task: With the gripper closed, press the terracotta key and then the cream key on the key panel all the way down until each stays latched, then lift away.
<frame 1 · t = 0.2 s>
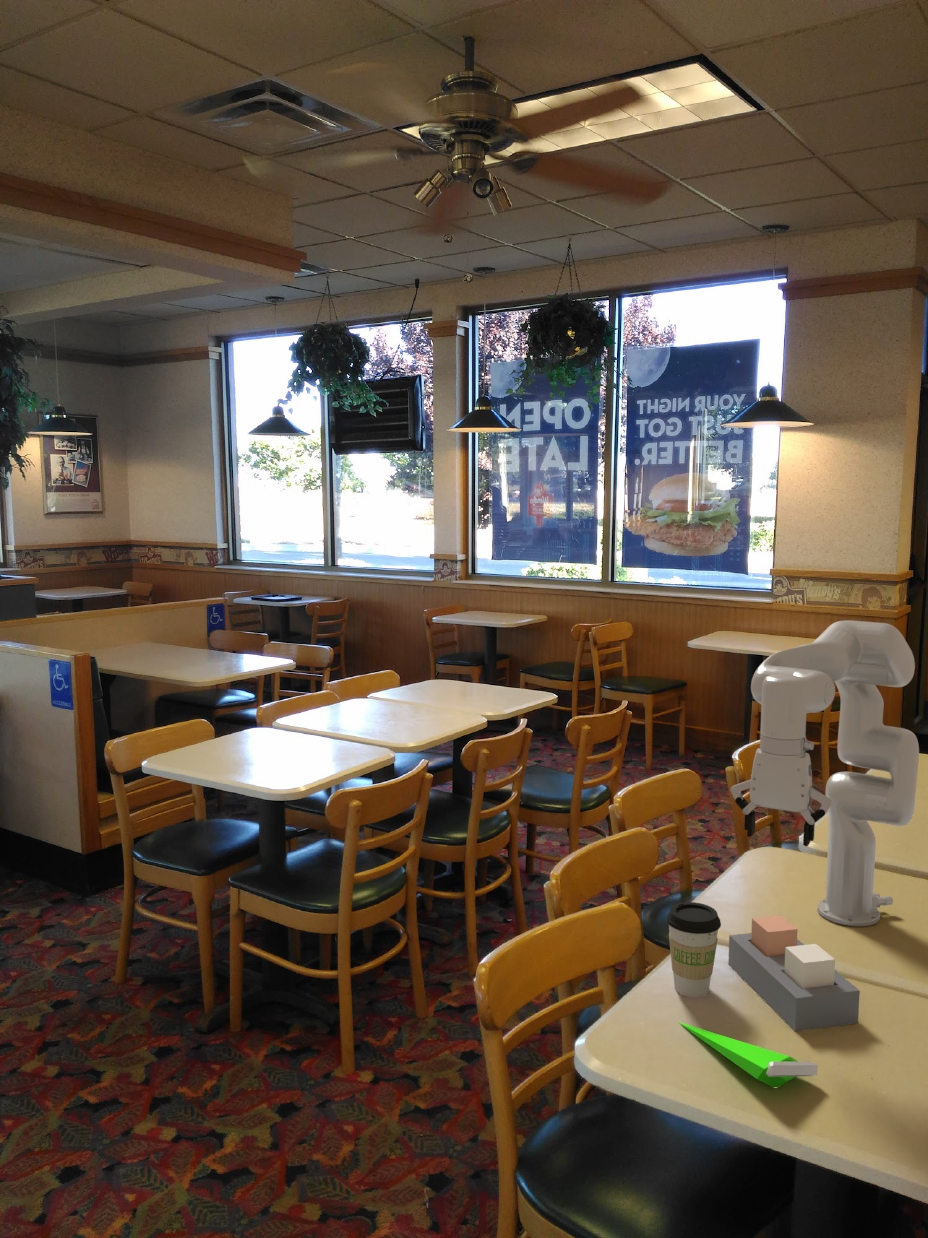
hand: (778, 839, 170), 30 cm above the table, tool pointing down, fingers open, 9 cm apart
terracotta key: (773, 939, 181), point 7 cm above the table, slide at 0.0 cm
green triangular piece: (735, 1066, 154), on the table
coffee cup: (691, 990, 178), on the table
key panel: (789, 992, 176), on the table
cream key: (809, 969, 169), point 7 cm above the table, slide at 0.0 cm
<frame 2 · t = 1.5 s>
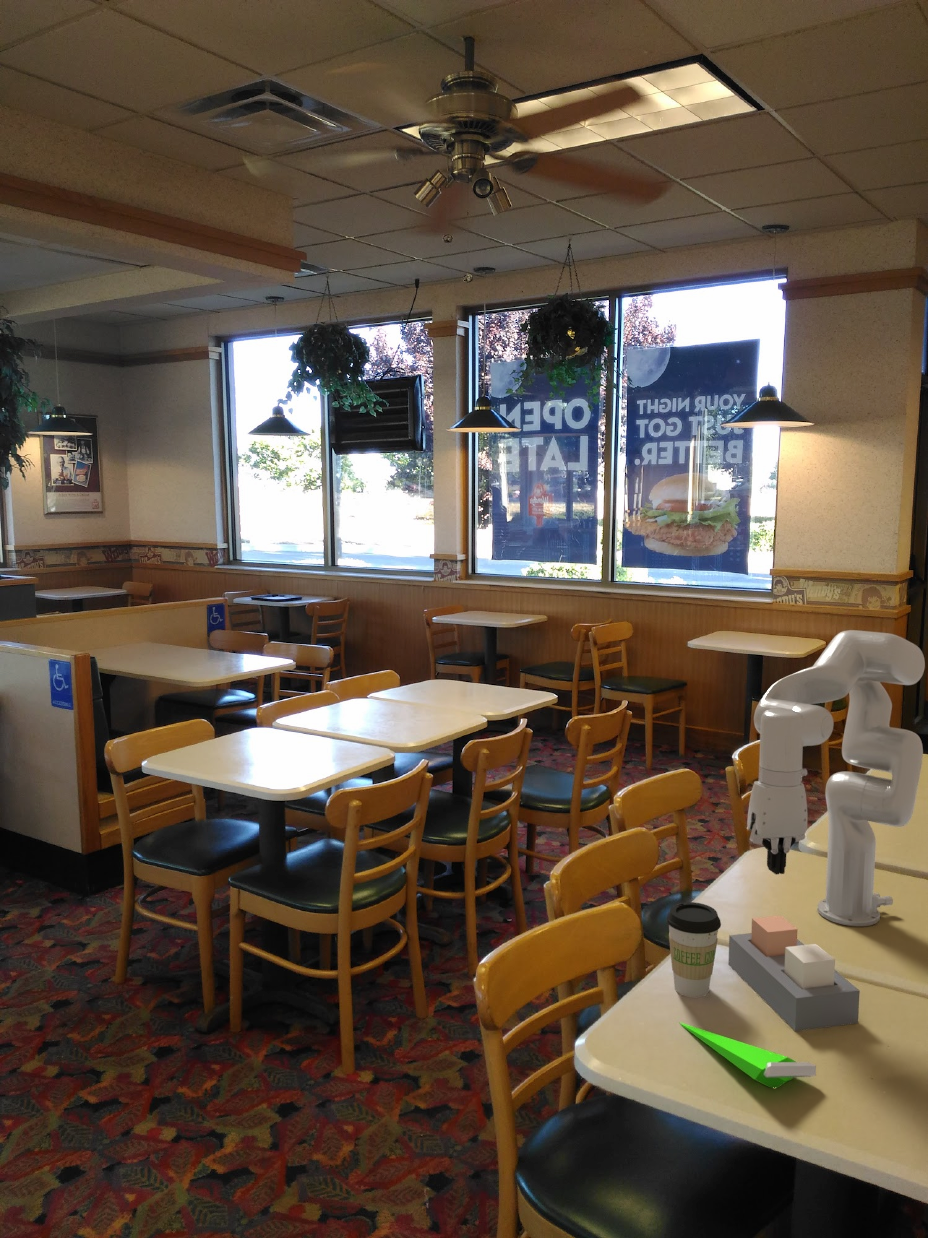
hand: (776, 871, 179), 21 cm above the table, tool pointing down, fingers closed
nothing on the table moved.
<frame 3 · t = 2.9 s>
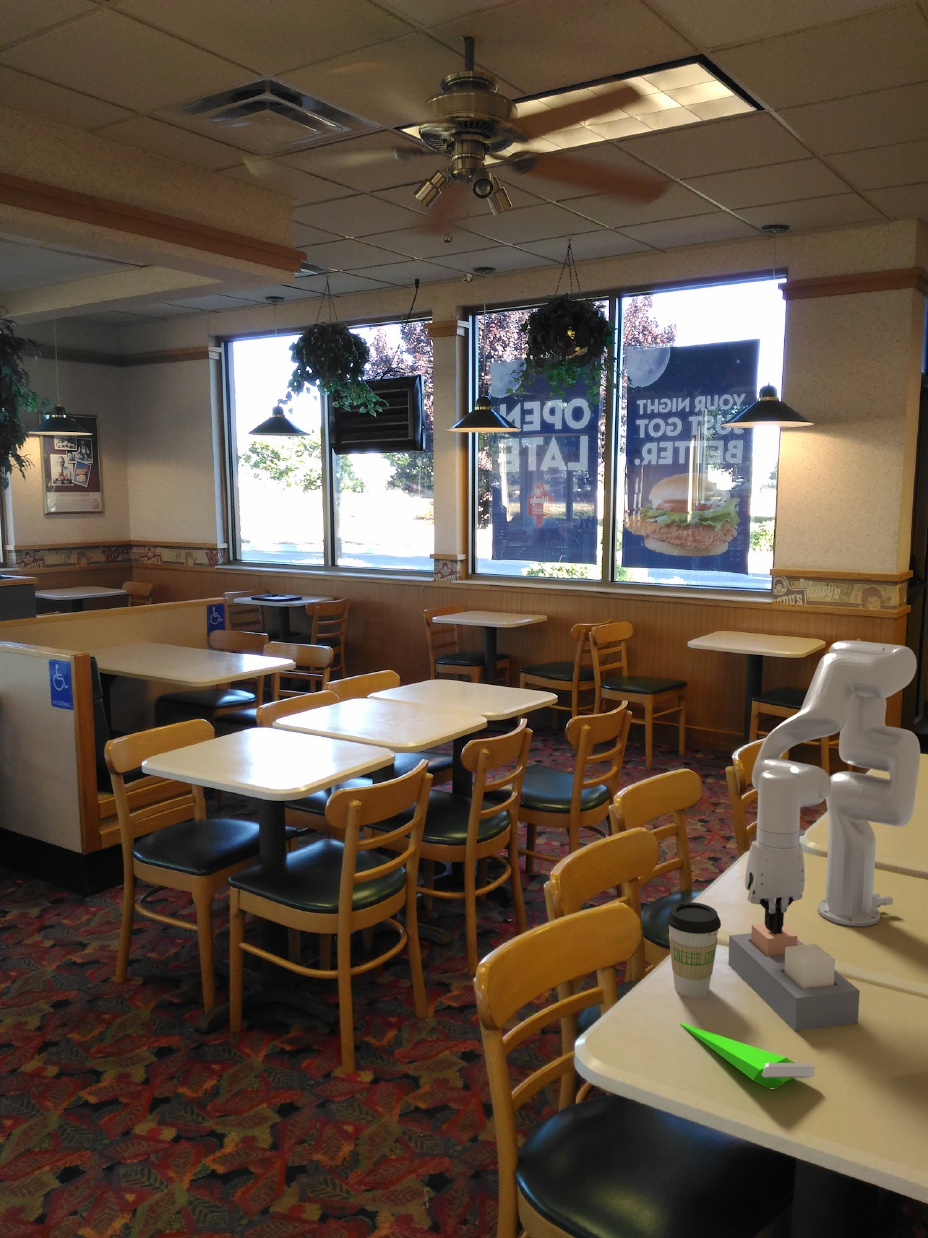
hand: (773, 930, 181), 9 cm above the table, tool pointing down, fingers closed
terracotta key: (773, 945, 181), point 6 cm above the table, slide at 1.3 cm, touching gripper
everything else where it was.
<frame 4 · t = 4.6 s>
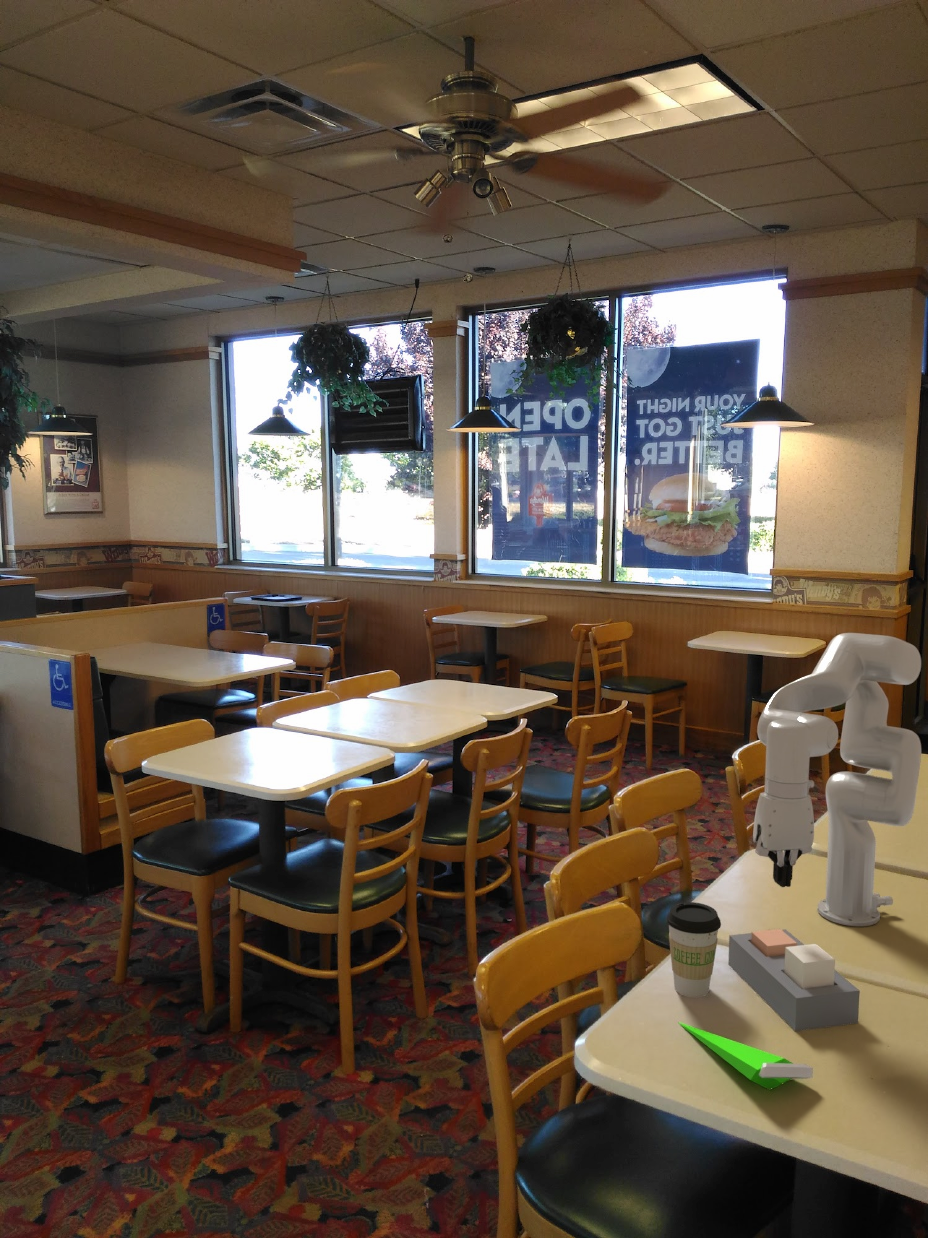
hand: (782, 884, 177), 19 cm above the table, tool pointing down, fingers closed
terracotta key: (773, 952, 181), point 5 cm above the table, slide at 2.7 cm
everything else where it was.
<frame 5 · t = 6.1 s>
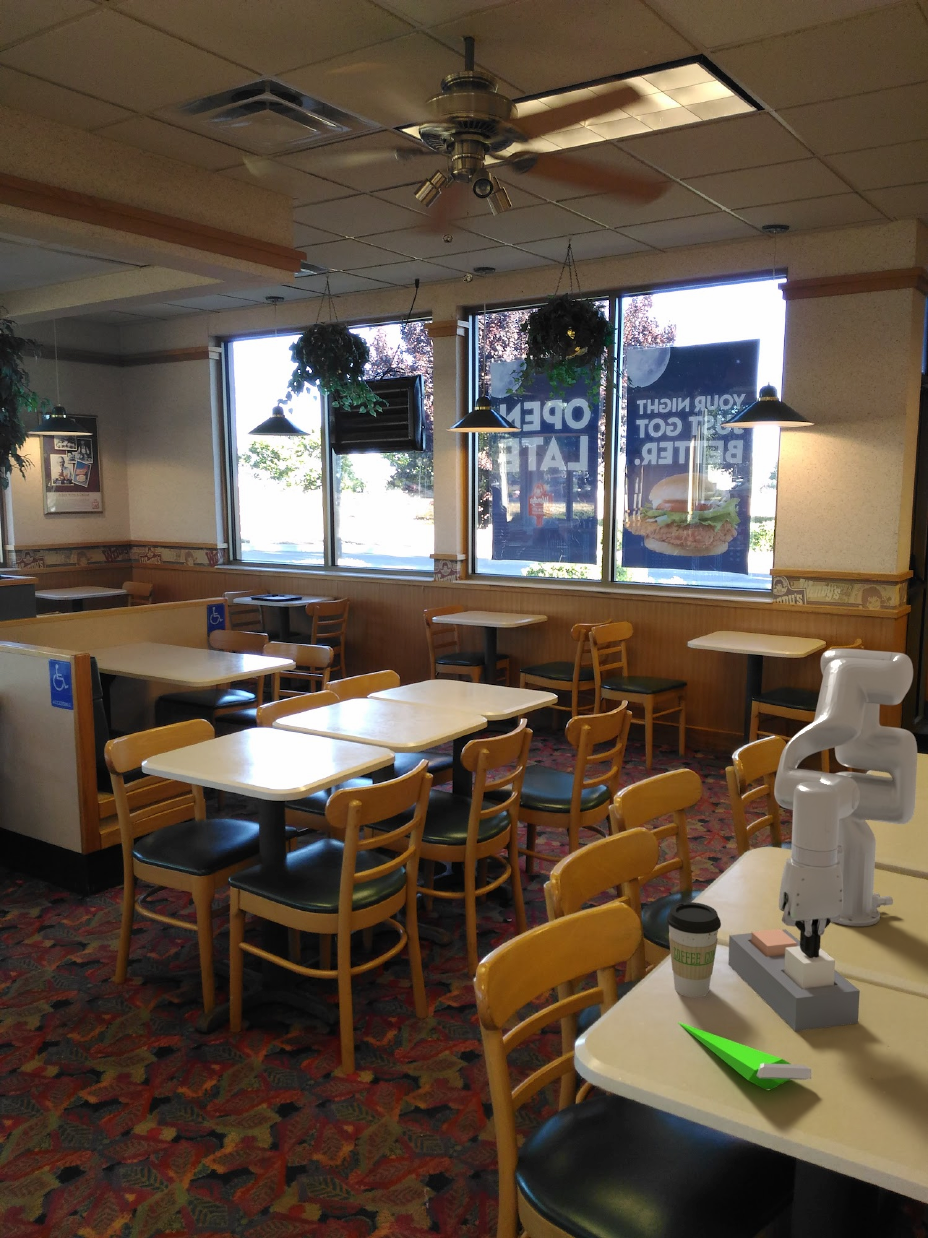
hand: (809, 954, 169), 10 cm above the table, tool pointing down, fingers closed
cream key: (809, 970, 169), point 7 cm above the table, slide at 0.1 cm, touching gripper
everything else where it was.
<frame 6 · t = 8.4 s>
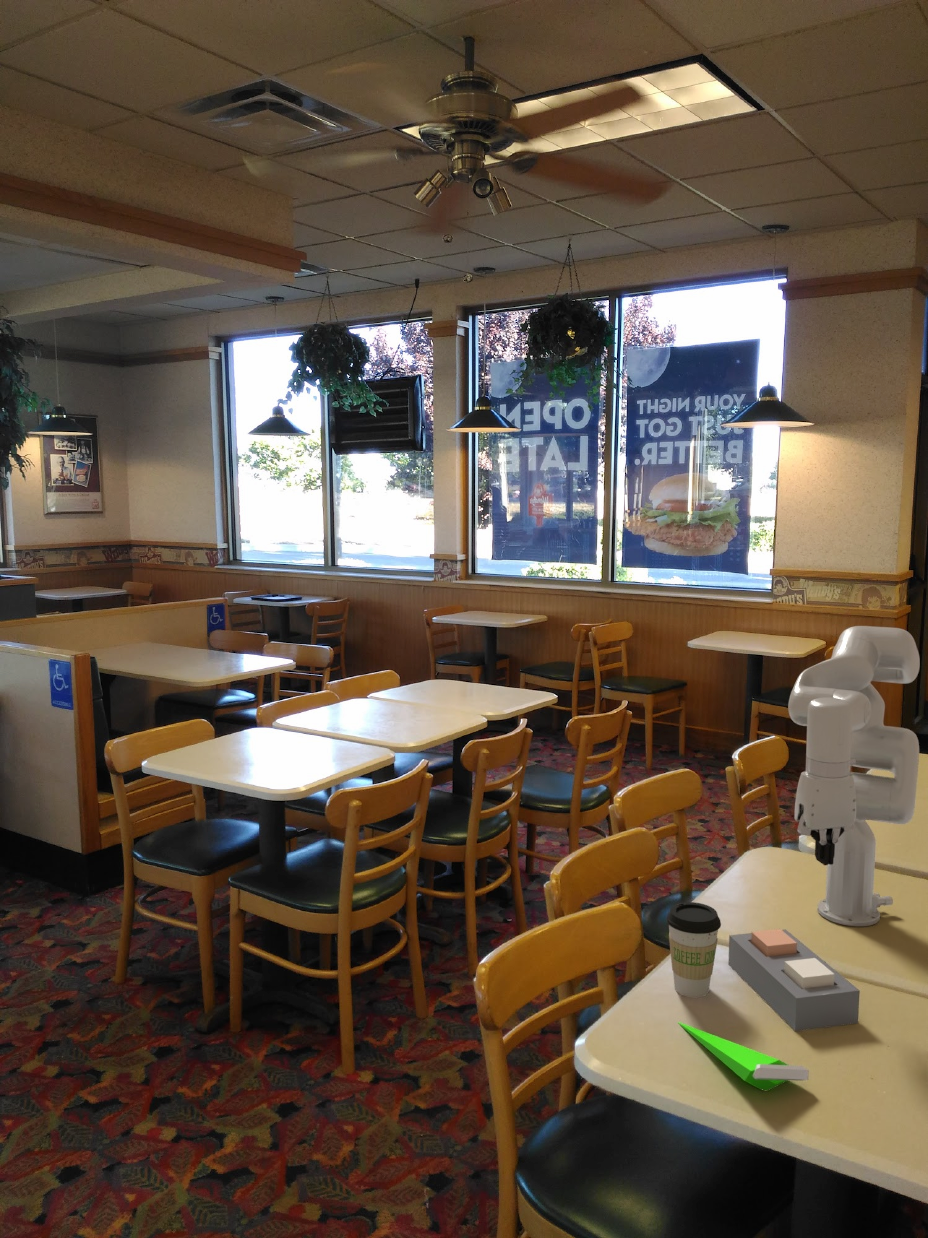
hand: (824, 862, 176), 24 cm above the table, tool pointing down, fingers closed
cream key: (808, 983, 170), point 5 cm above the table, slide at 2.7 cm
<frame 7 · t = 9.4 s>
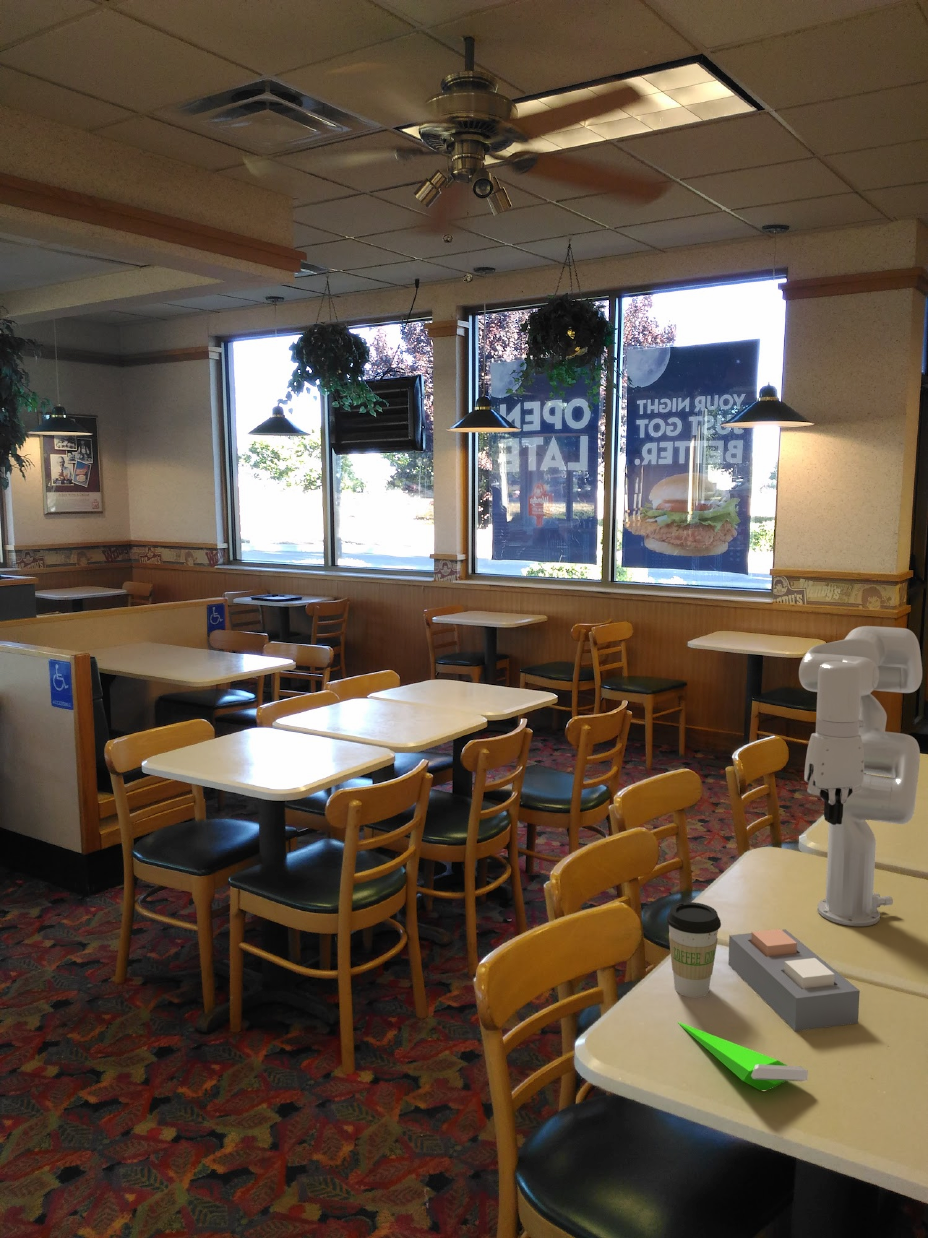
hand: (832, 822, 182), 29 cm above the table, tool pointing down, fingers closed
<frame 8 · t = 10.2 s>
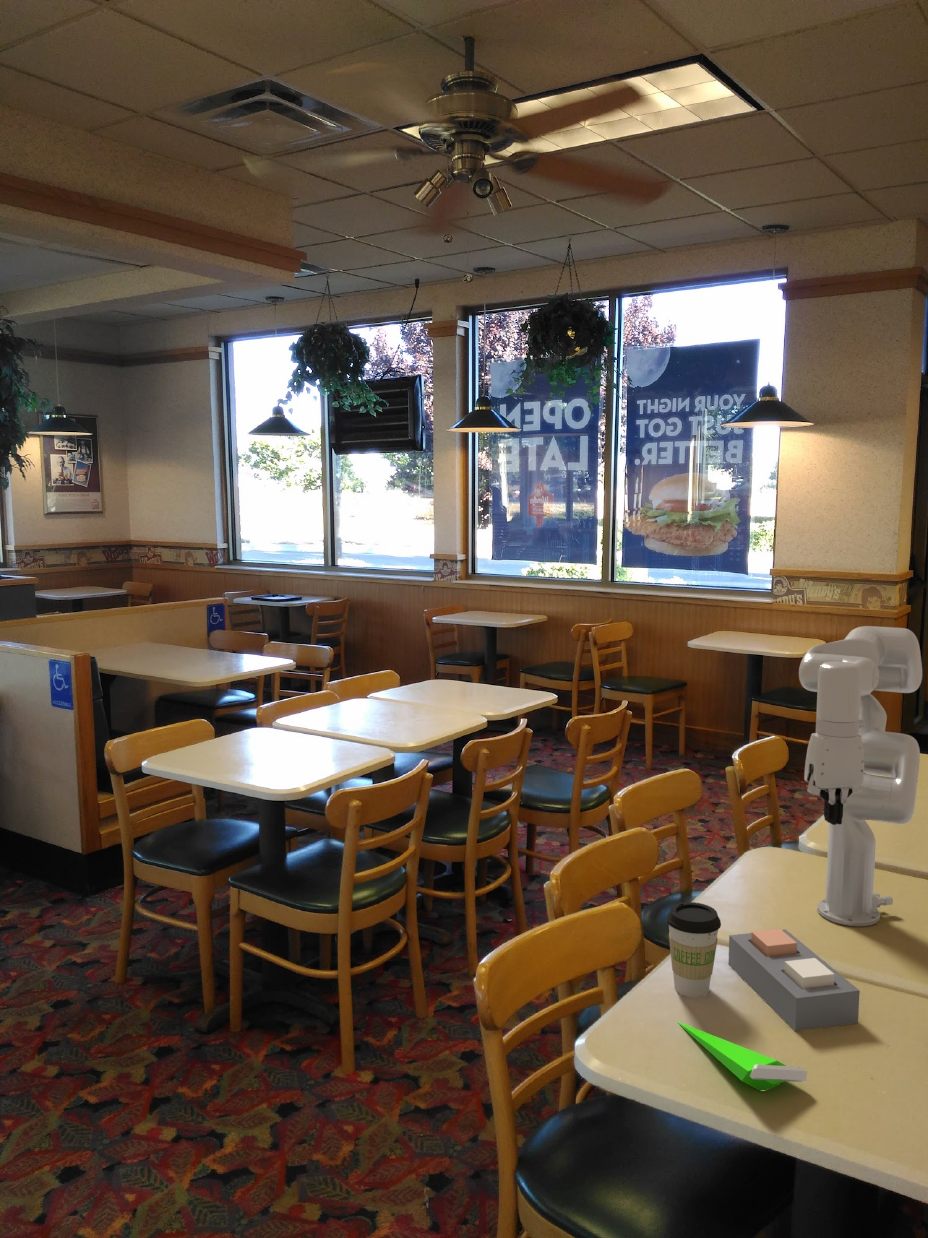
hand: (832, 822, 182), 29 cm above the table, tool pointing down, fingers closed
at the end: terracotta key slide at 2.7 cm; cream key slide at 2.7 cm; coffee cup moved 0.2 cm from its start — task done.
